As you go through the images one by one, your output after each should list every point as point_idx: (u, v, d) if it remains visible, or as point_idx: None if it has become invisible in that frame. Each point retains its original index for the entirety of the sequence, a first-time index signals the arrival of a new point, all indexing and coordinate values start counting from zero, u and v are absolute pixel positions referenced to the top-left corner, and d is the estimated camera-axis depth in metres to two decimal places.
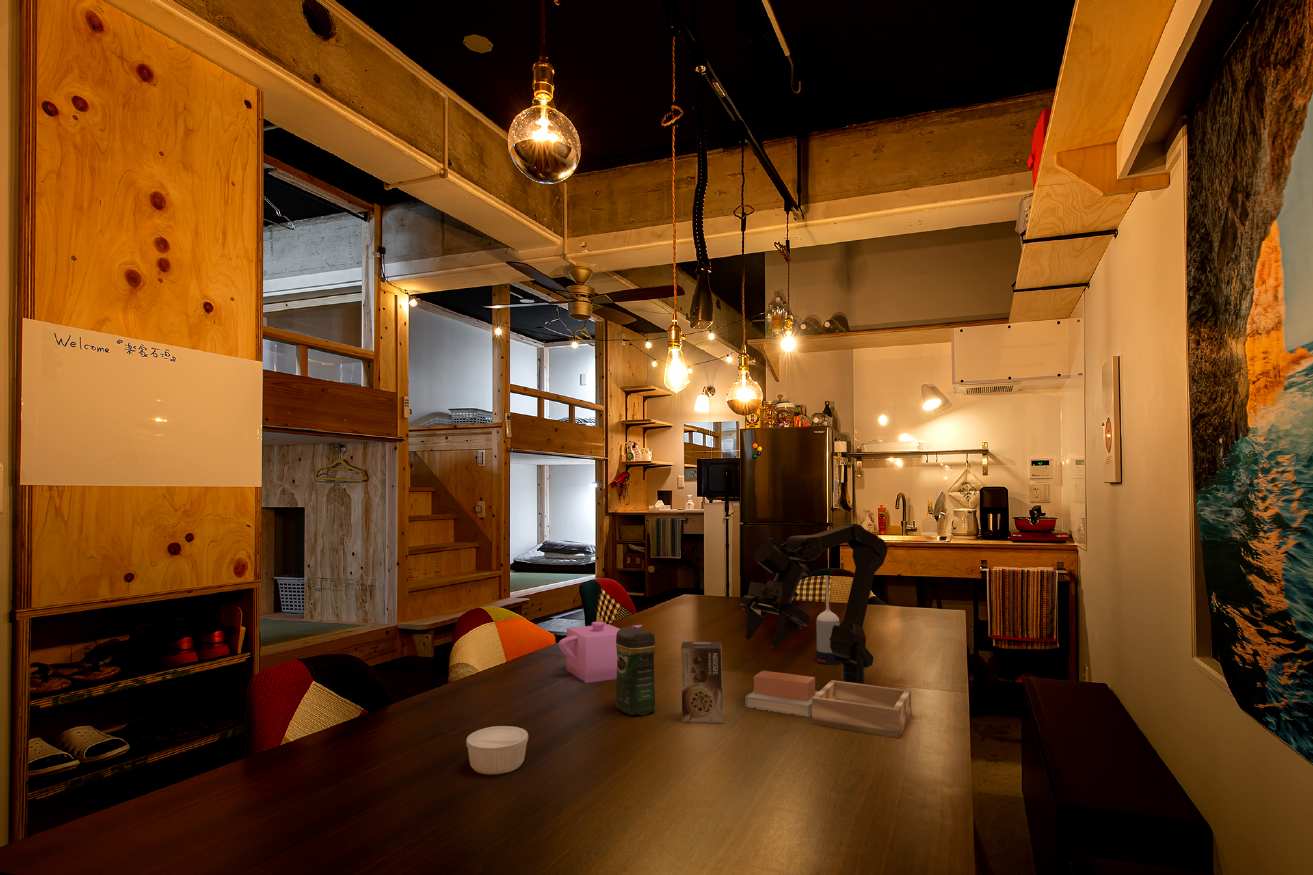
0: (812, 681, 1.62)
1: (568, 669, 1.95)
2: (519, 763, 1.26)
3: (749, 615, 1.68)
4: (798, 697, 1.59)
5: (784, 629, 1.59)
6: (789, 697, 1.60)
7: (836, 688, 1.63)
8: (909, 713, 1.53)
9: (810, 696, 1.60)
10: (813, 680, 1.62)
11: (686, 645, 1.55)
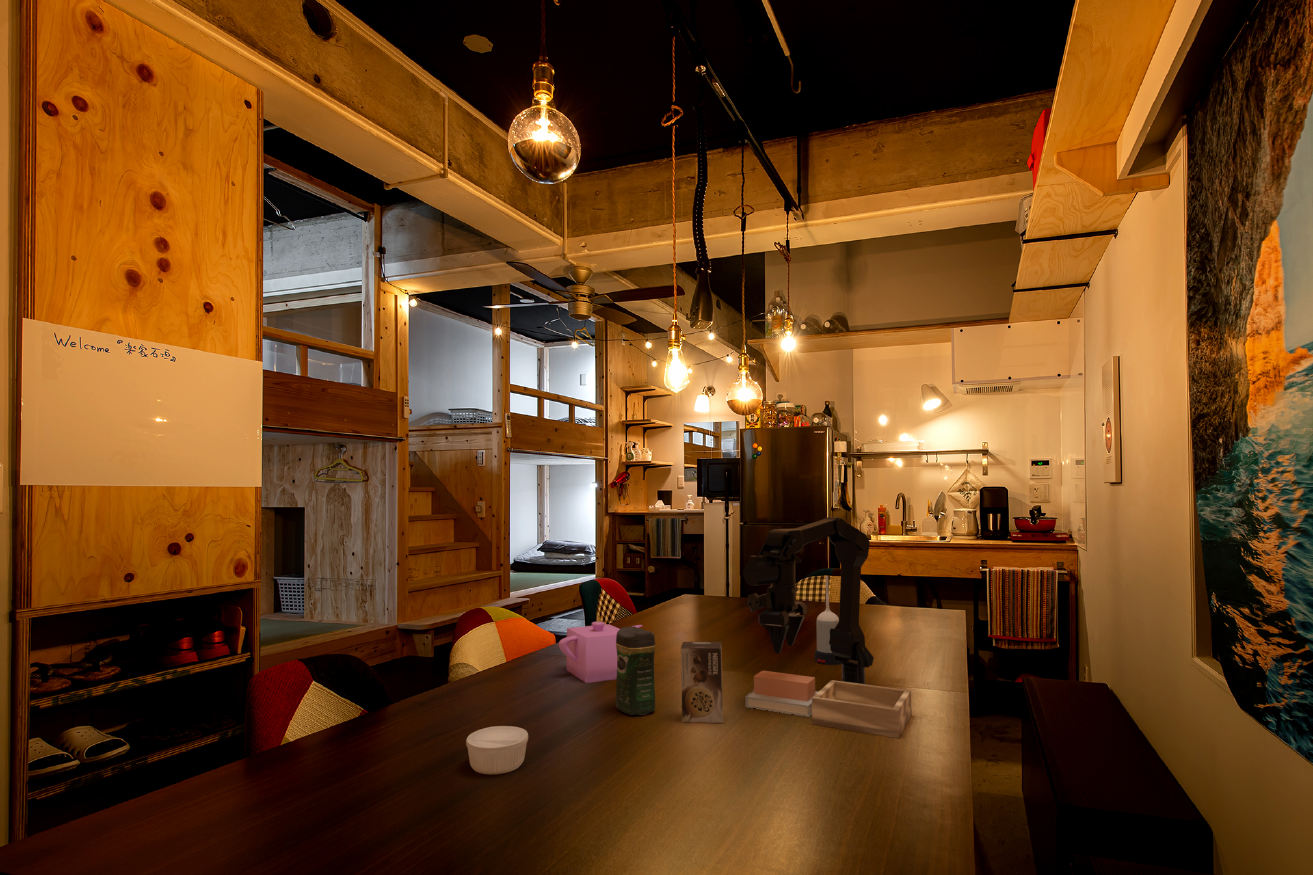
0: (812, 681, 1.62)
1: (568, 669, 1.95)
2: (519, 763, 1.26)
3: None
4: (798, 697, 1.59)
5: (775, 634, 1.60)
6: (789, 697, 1.60)
7: (836, 688, 1.63)
8: (909, 713, 1.53)
9: (810, 696, 1.60)
10: (813, 680, 1.62)
11: (686, 645, 1.55)
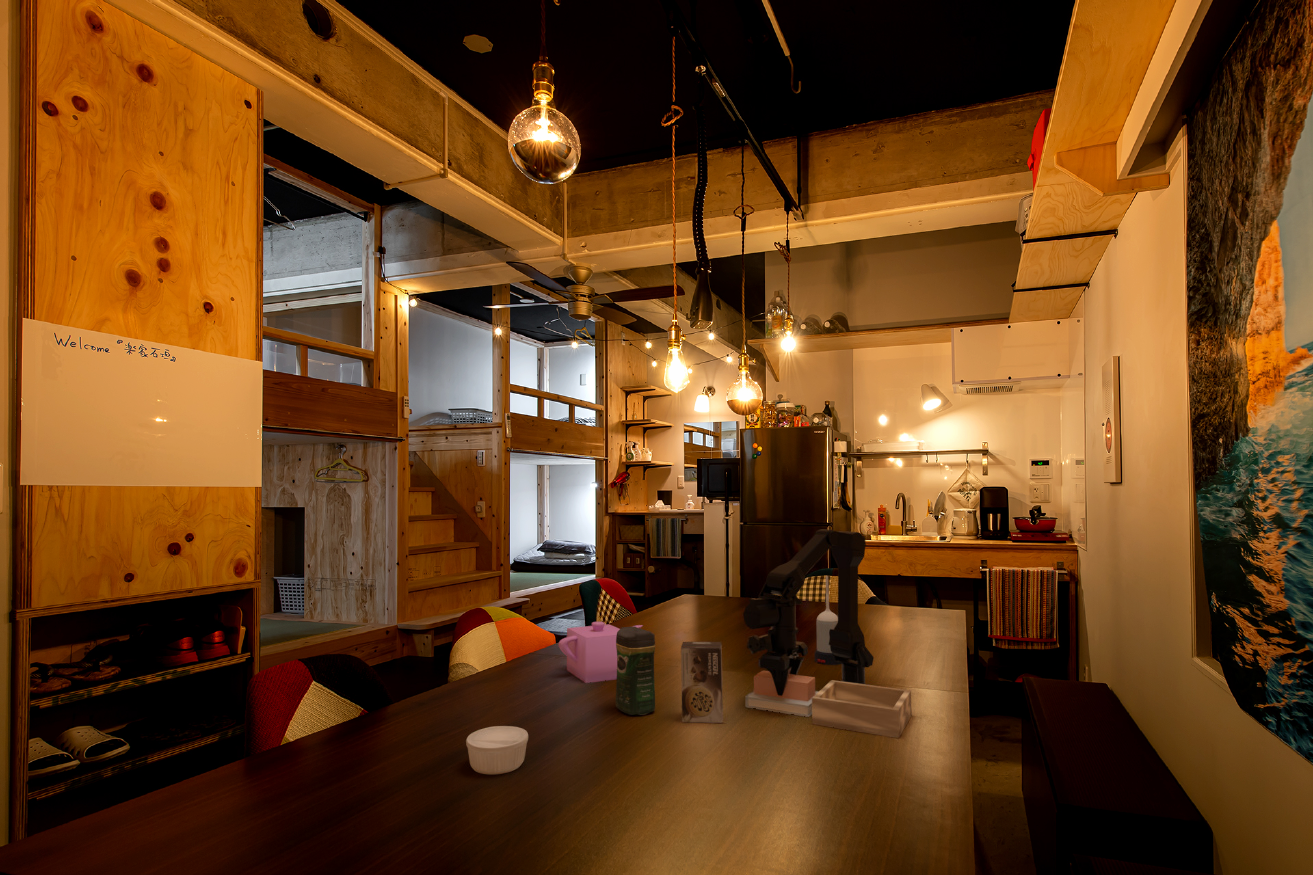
0: (812, 681, 1.62)
1: (568, 669, 1.94)
2: (519, 763, 1.26)
3: None
4: (798, 697, 1.59)
5: (778, 676, 1.60)
6: (789, 697, 1.60)
7: (836, 688, 1.63)
8: (909, 713, 1.53)
9: (810, 696, 1.60)
10: (813, 680, 1.62)
11: (686, 645, 1.55)
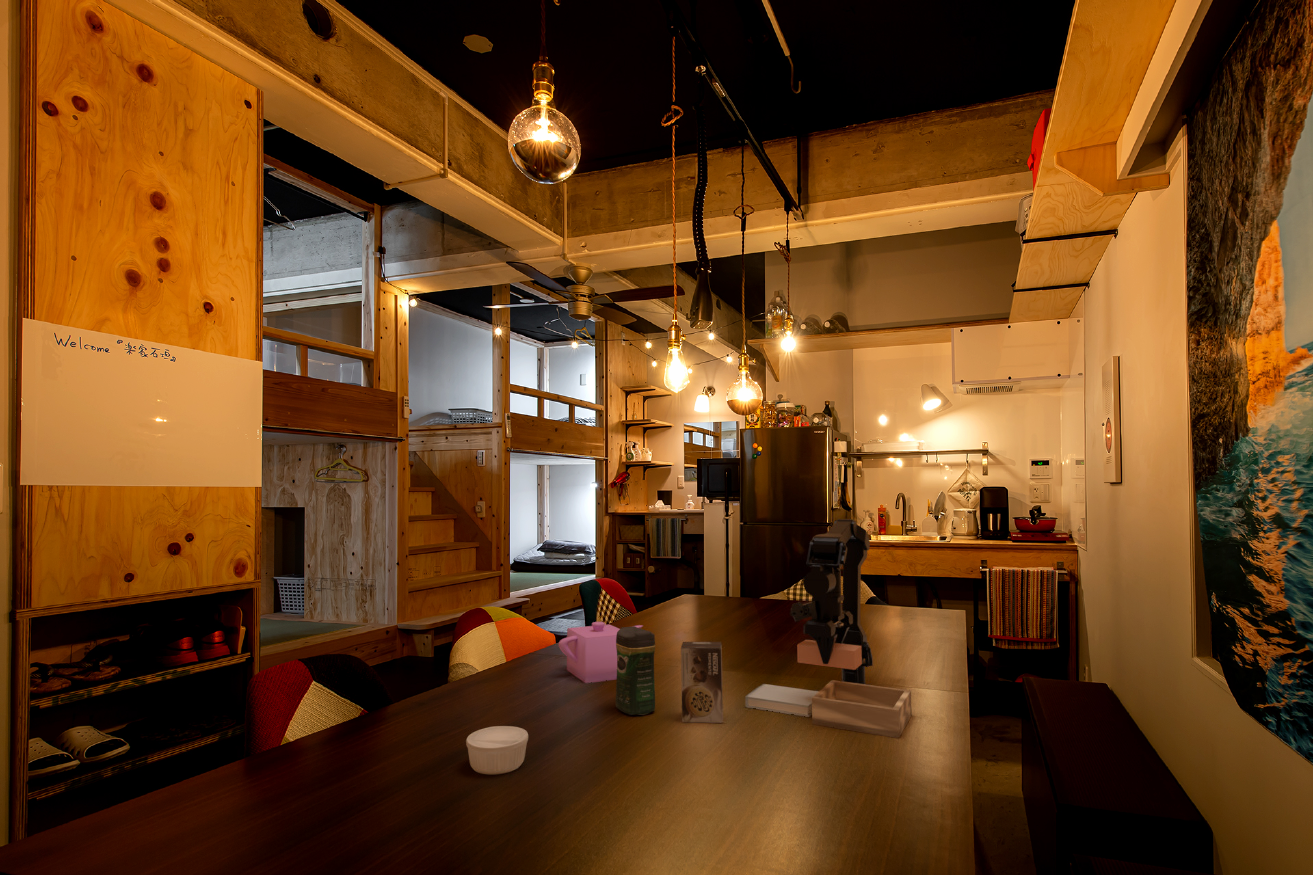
0: (859, 649, 1.56)
1: (568, 669, 1.94)
2: (519, 763, 1.26)
3: None
4: (844, 665, 1.53)
5: (823, 644, 1.55)
6: (835, 665, 1.54)
7: (836, 688, 1.63)
8: (909, 713, 1.53)
9: (857, 665, 1.54)
10: (859, 648, 1.56)
11: (686, 645, 1.55)
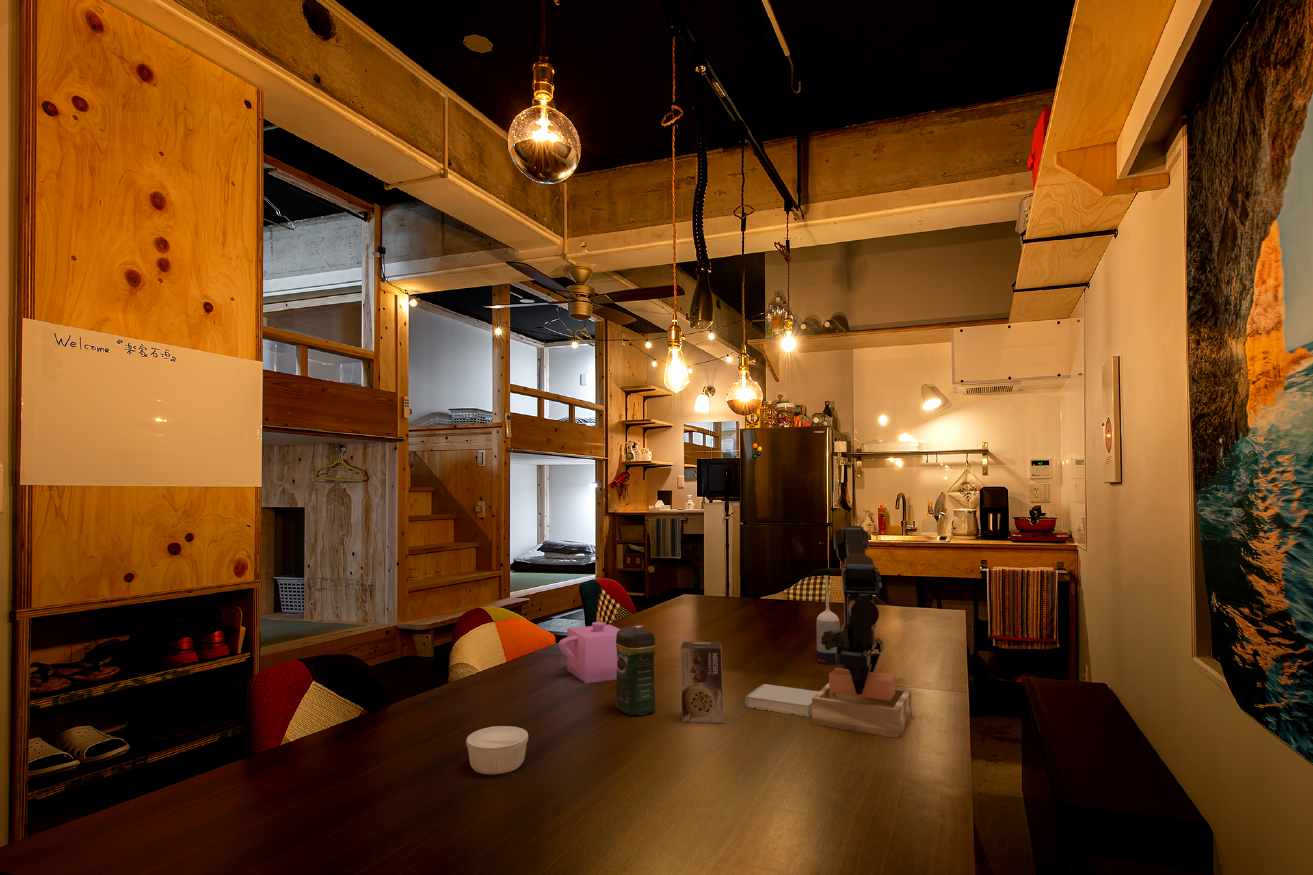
0: (893, 679, 1.51)
1: (568, 669, 1.94)
2: (519, 763, 1.26)
3: None
4: (879, 696, 1.49)
5: (857, 674, 1.50)
6: (869, 696, 1.50)
7: None
8: (909, 713, 1.53)
9: (891, 695, 1.50)
10: (893, 678, 1.52)
11: (686, 645, 1.55)
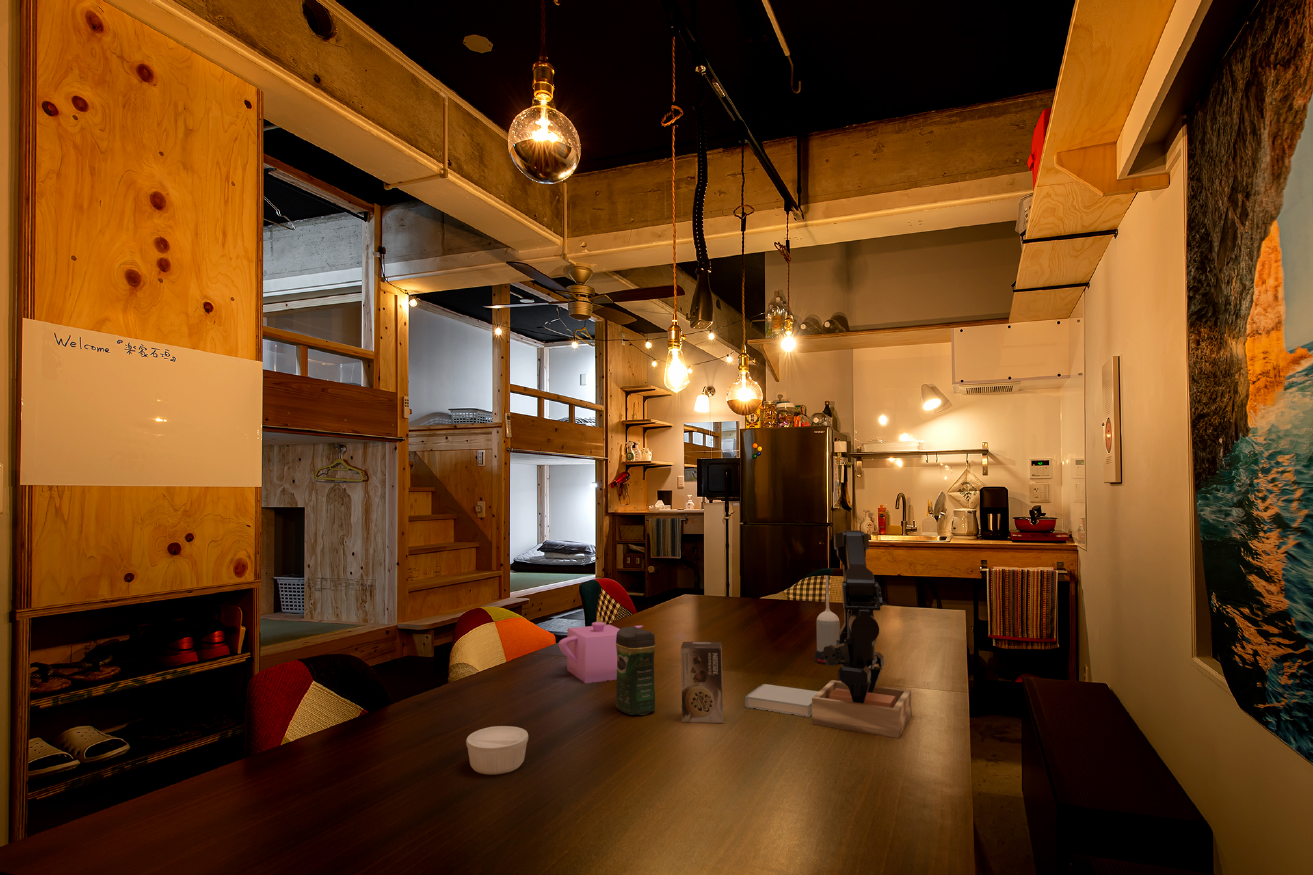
0: (893, 700, 1.51)
1: (569, 669, 1.94)
2: (519, 763, 1.26)
3: None
4: None
5: (856, 691, 1.49)
6: None
7: None
8: (909, 713, 1.53)
9: None
10: (894, 699, 1.52)
11: (686, 645, 1.55)
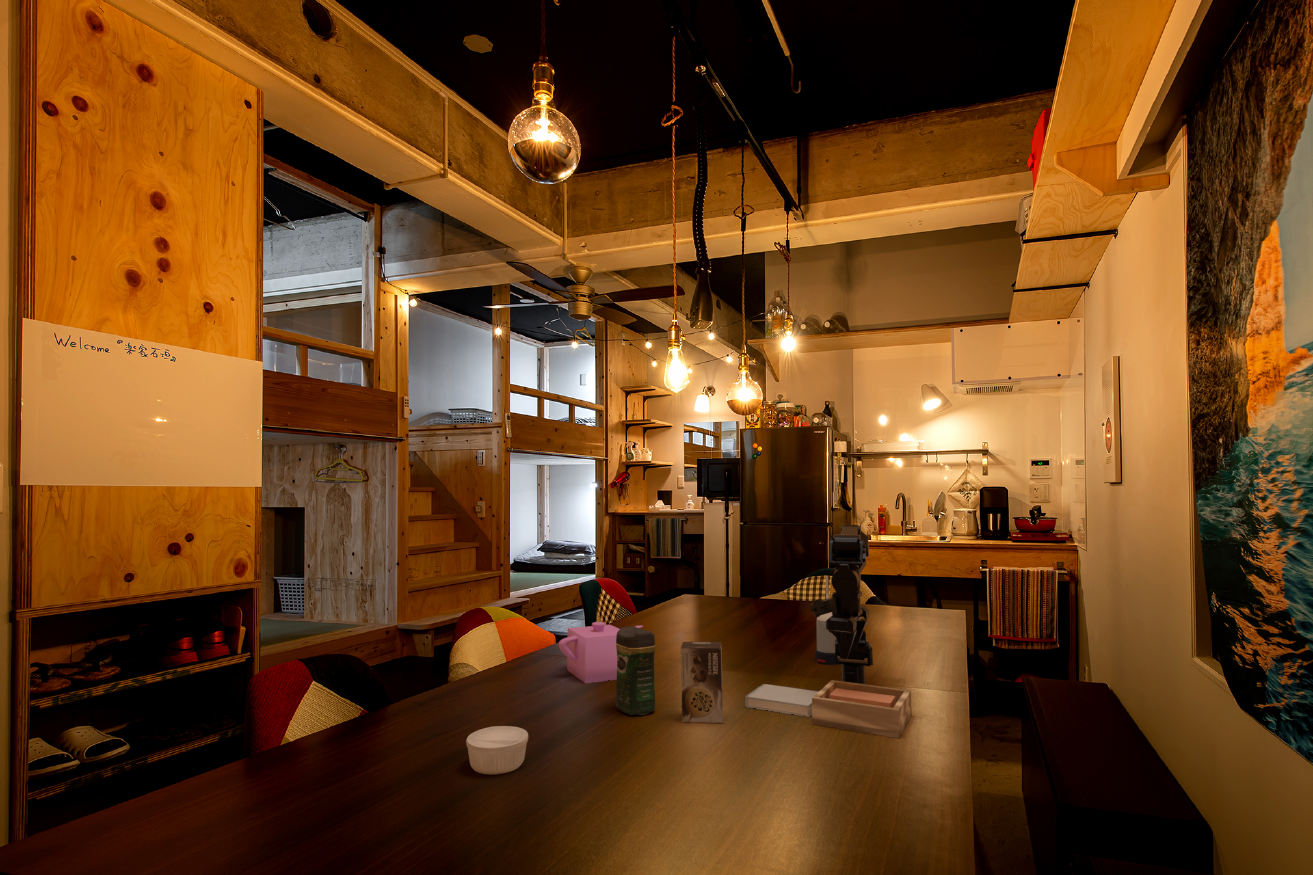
0: (893, 700, 1.51)
1: (569, 669, 1.94)
2: (519, 763, 1.26)
3: None
4: None
5: (843, 640, 1.59)
6: None
7: None
8: (909, 713, 1.53)
9: None
10: (894, 699, 1.52)
11: (686, 645, 1.55)
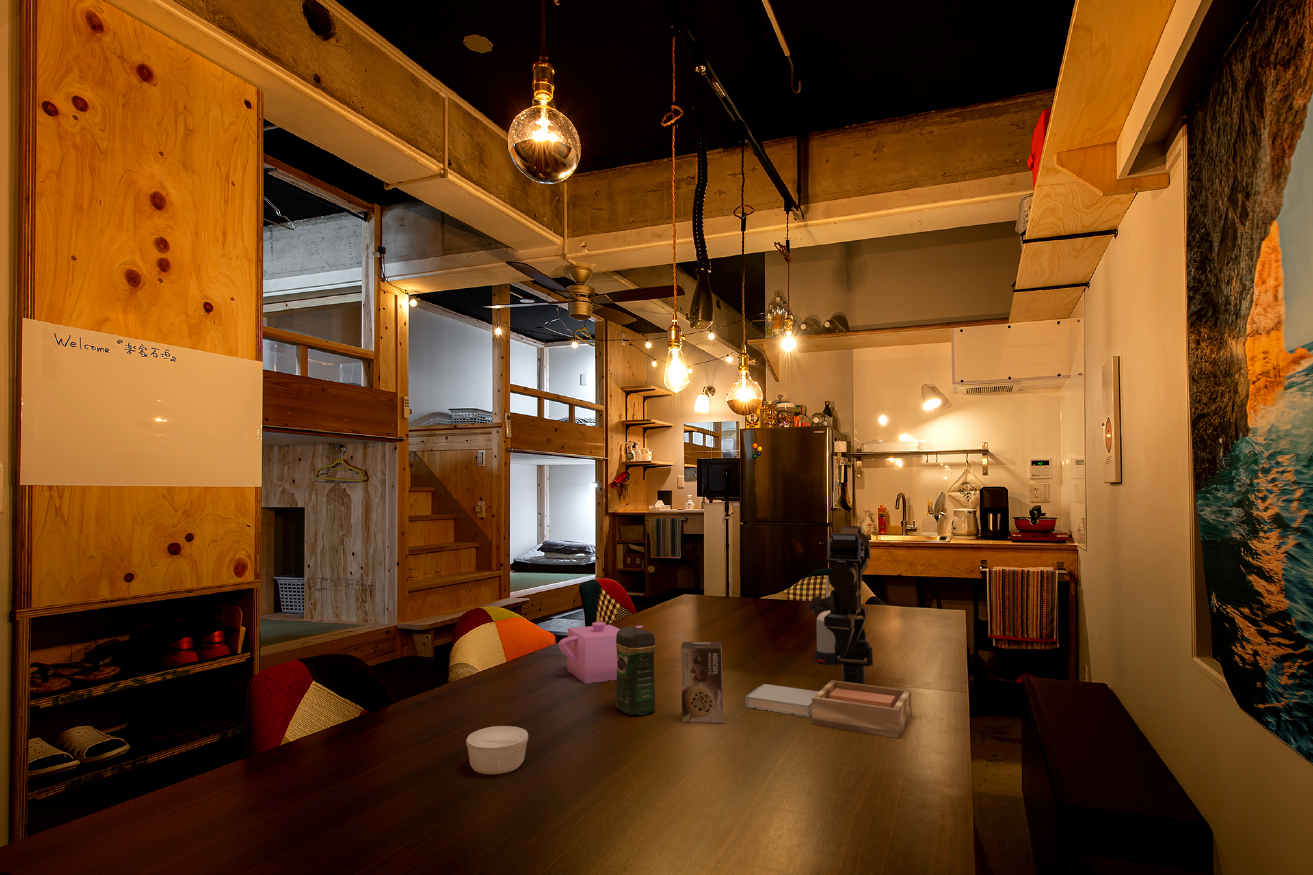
0: (893, 700, 1.51)
1: (569, 669, 1.94)
2: (519, 763, 1.26)
3: None
4: None
5: (841, 637, 1.60)
6: None
7: None
8: (909, 713, 1.53)
9: None
10: (894, 699, 1.52)
11: (686, 645, 1.55)
